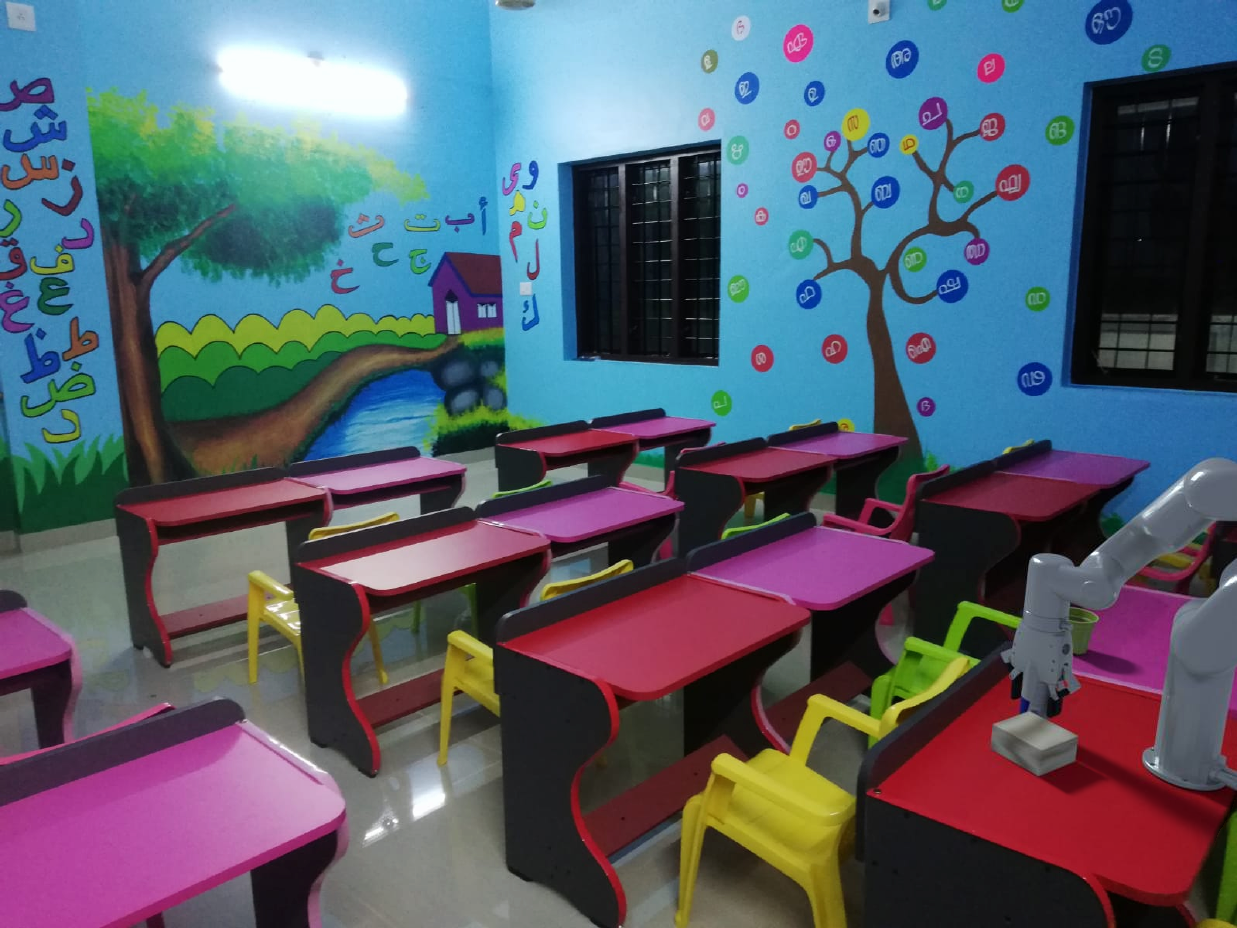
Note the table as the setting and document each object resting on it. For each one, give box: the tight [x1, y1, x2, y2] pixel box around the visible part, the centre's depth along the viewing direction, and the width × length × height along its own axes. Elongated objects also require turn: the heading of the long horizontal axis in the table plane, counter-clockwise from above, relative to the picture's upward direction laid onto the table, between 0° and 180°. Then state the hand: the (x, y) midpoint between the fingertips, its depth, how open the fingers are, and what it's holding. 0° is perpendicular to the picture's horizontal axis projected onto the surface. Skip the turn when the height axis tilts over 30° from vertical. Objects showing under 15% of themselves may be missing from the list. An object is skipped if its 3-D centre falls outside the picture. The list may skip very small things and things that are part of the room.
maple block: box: [990, 711, 1079, 777], centre depth 158 cm, size 10×10×5 cm
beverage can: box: [1018, 659, 1052, 721], centre depth 166 cm, size 5×5×15 cm
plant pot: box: [1067, 606, 1100, 655], centre depth 201 cm, size 9×9×9 cm
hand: (1034, 706), depth 166 cm, fingers open, 7 cm apart
